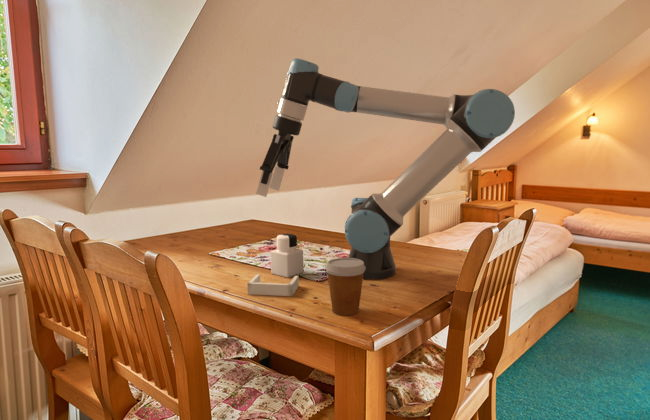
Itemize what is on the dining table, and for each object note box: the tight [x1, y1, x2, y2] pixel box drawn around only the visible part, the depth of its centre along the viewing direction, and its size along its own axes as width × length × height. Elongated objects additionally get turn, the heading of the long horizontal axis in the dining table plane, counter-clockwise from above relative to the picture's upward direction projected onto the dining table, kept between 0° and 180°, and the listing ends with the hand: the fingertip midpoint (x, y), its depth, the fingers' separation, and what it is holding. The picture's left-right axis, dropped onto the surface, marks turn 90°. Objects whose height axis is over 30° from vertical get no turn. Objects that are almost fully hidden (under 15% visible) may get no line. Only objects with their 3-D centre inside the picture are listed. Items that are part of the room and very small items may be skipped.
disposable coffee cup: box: [324, 257, 366, 316], centre depth 115 cm, size 10×10×12 cm
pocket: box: [246, 273, 300, 297], centre depth 132 cm, size 12×8×3 cm
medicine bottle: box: [270, 233, 304, 278], centre depth 147 cm, size 7×7×12 cm
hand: (267, 192), depth 135 cm, fingers open, 13 cm apart
